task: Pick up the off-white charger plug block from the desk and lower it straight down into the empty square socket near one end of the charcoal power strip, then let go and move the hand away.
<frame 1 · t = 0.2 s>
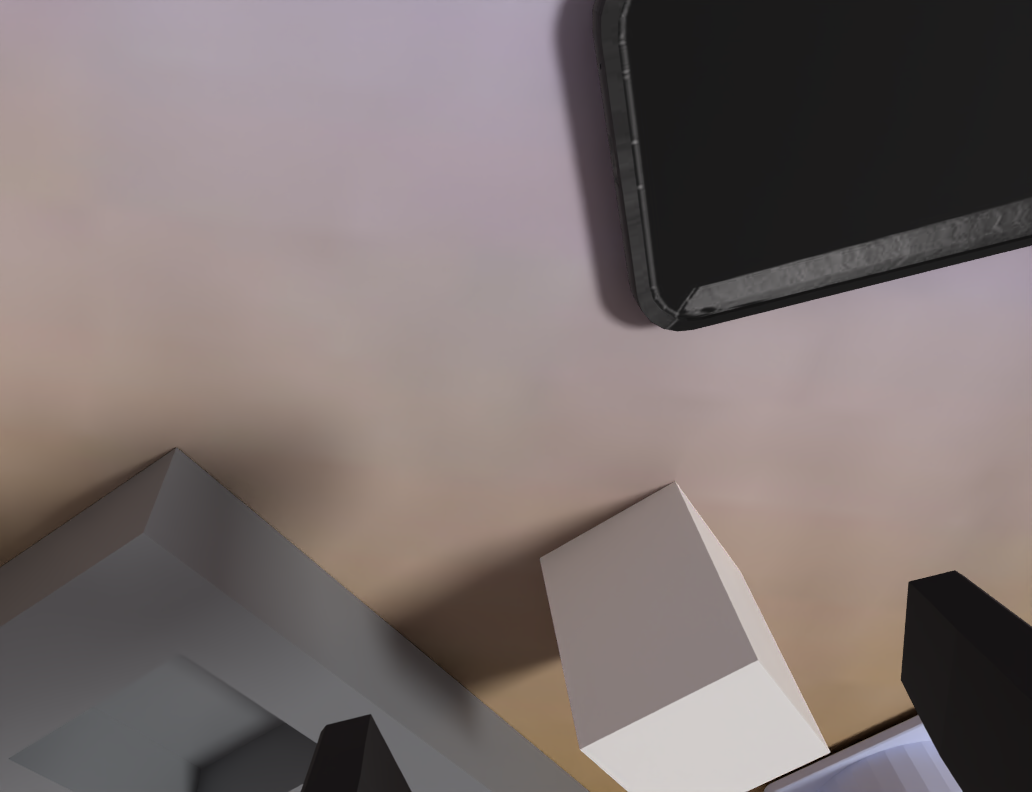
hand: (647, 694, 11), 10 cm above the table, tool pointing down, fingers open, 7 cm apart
power strip: (321, 742, 26), on the table
charger plug: (642, 564, 23), on the table
phone: (946, 72, 17), on the table
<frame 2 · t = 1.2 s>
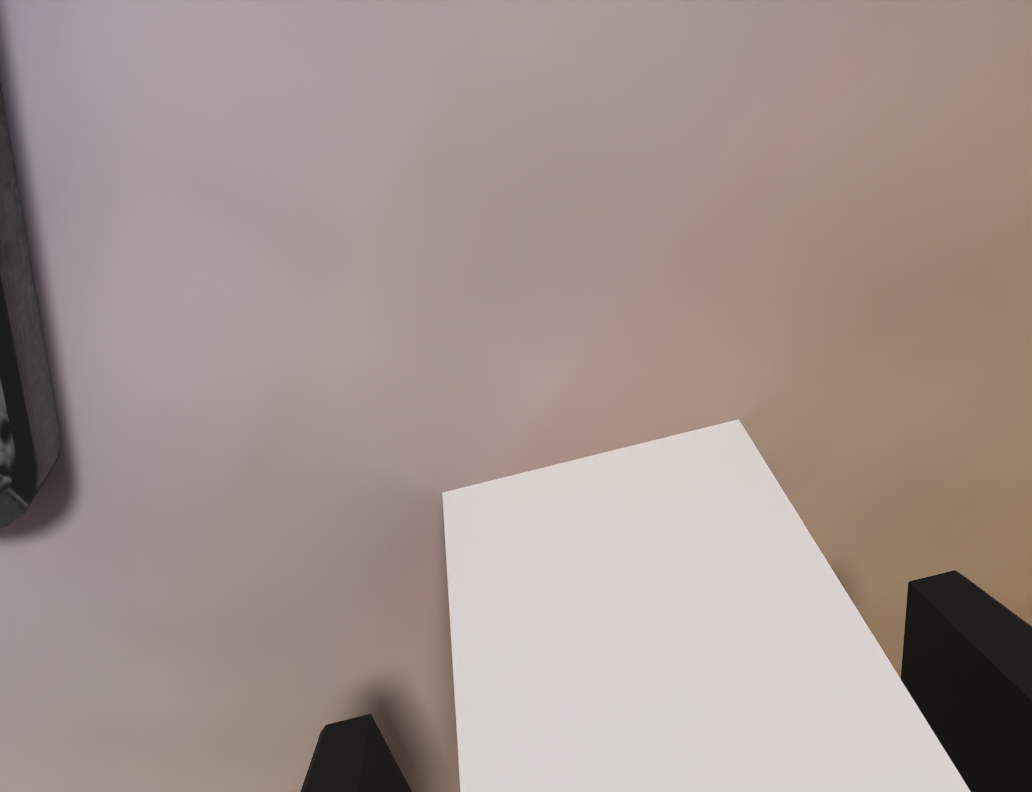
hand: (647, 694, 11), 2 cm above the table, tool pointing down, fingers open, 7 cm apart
charger plug: (612, 561, 13), on the table
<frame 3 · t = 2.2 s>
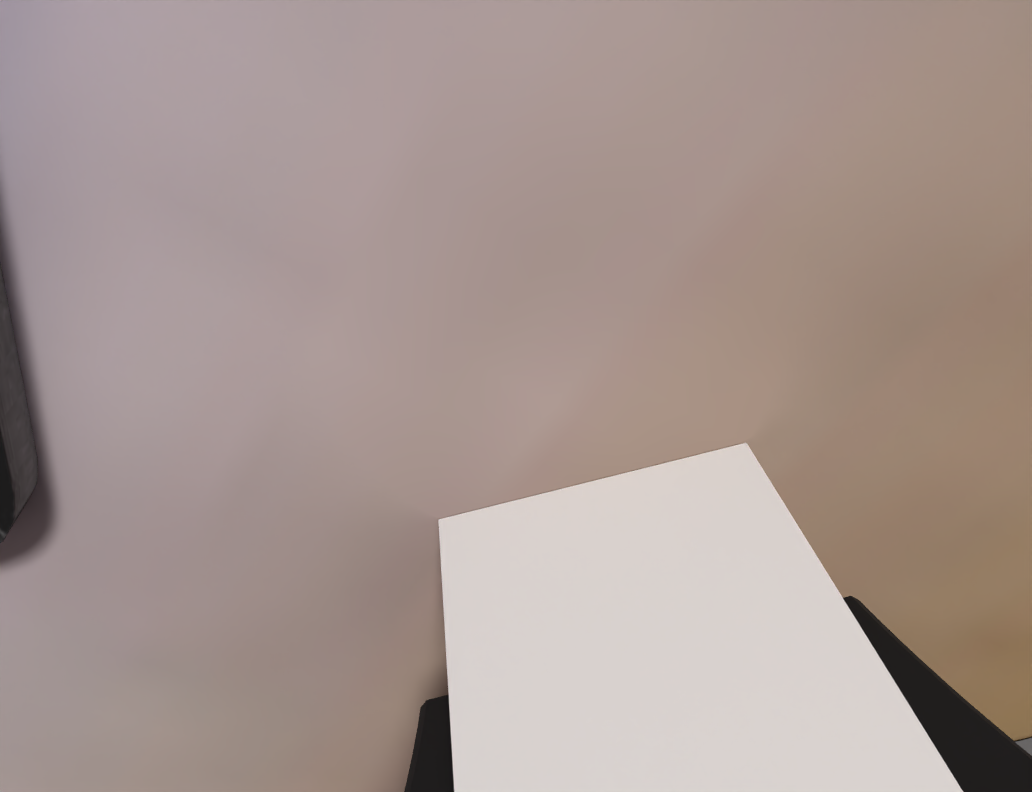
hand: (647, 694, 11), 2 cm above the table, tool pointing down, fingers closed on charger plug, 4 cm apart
charger plug: (615, 589, 12), on the table, touching gripper
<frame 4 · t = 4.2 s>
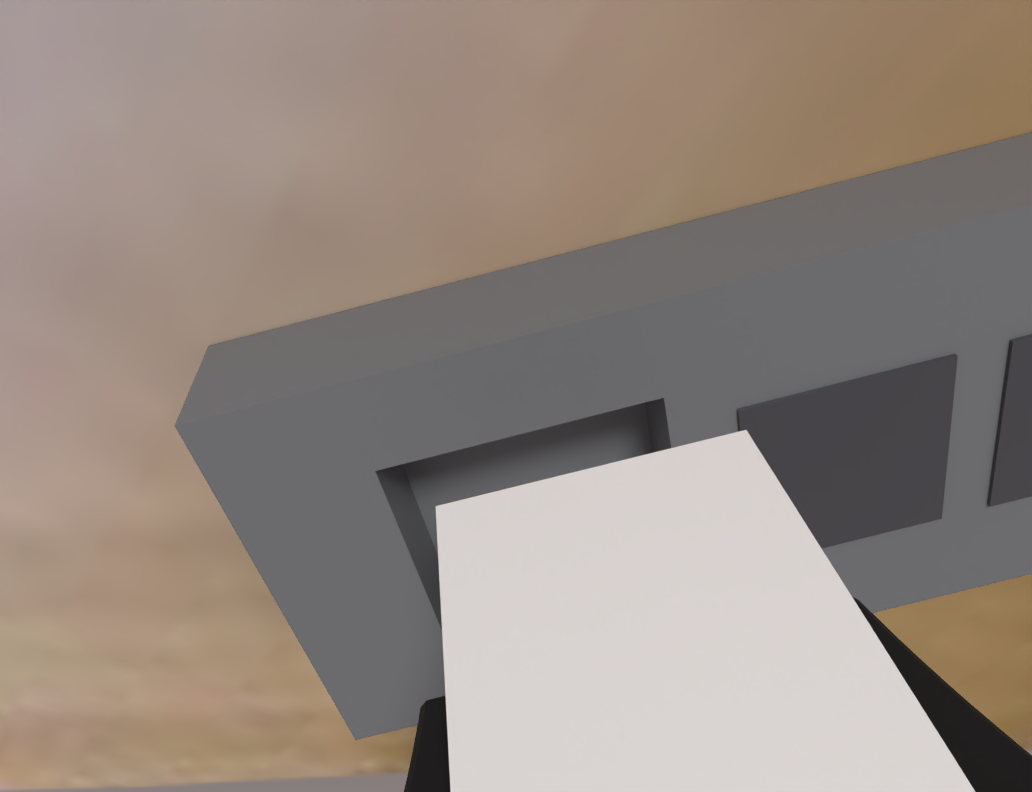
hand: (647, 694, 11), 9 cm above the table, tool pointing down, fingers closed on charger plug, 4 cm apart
power strip: (728, 406, 20), on the table
charger plug: (613, 578, 12), point 7 cm above the table, touching gripper
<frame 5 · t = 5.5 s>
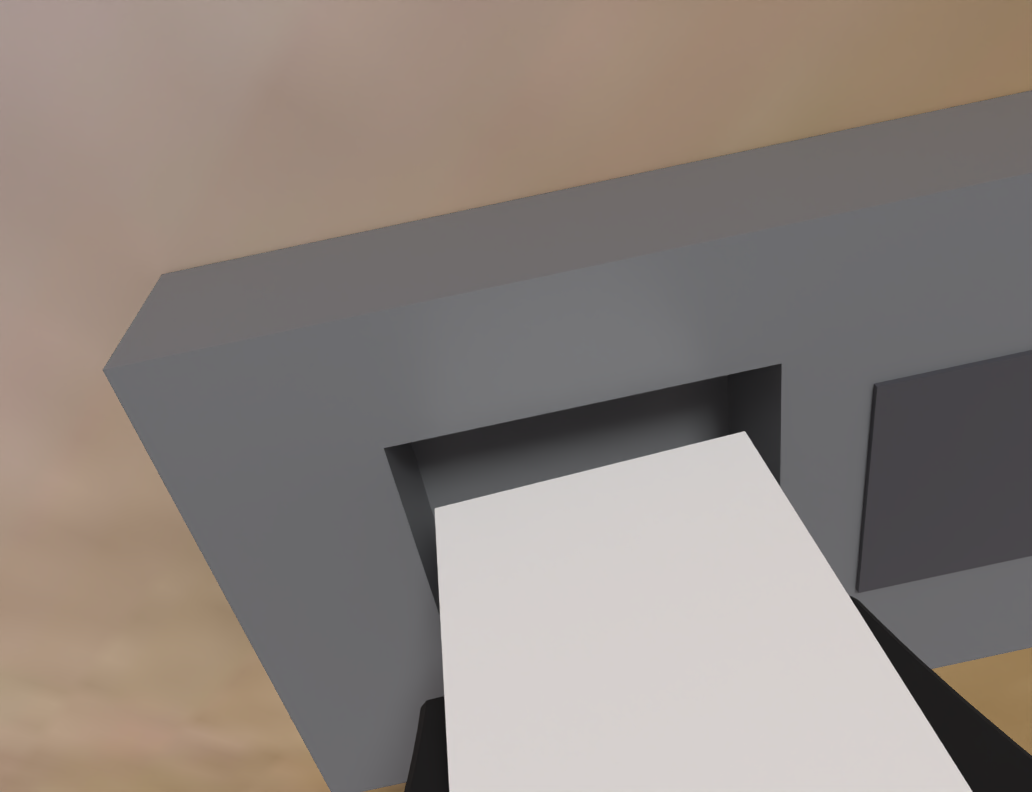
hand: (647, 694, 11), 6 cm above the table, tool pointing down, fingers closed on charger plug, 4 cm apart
power strip: (824, 389, 16), on the table
charger plug: (612, 579, 12), point 4 cm above the table, touching gripper
when the fingers open (4 cm above the table, at t = 6.4 s): charger plug drops 1 cm, resting on power strip.
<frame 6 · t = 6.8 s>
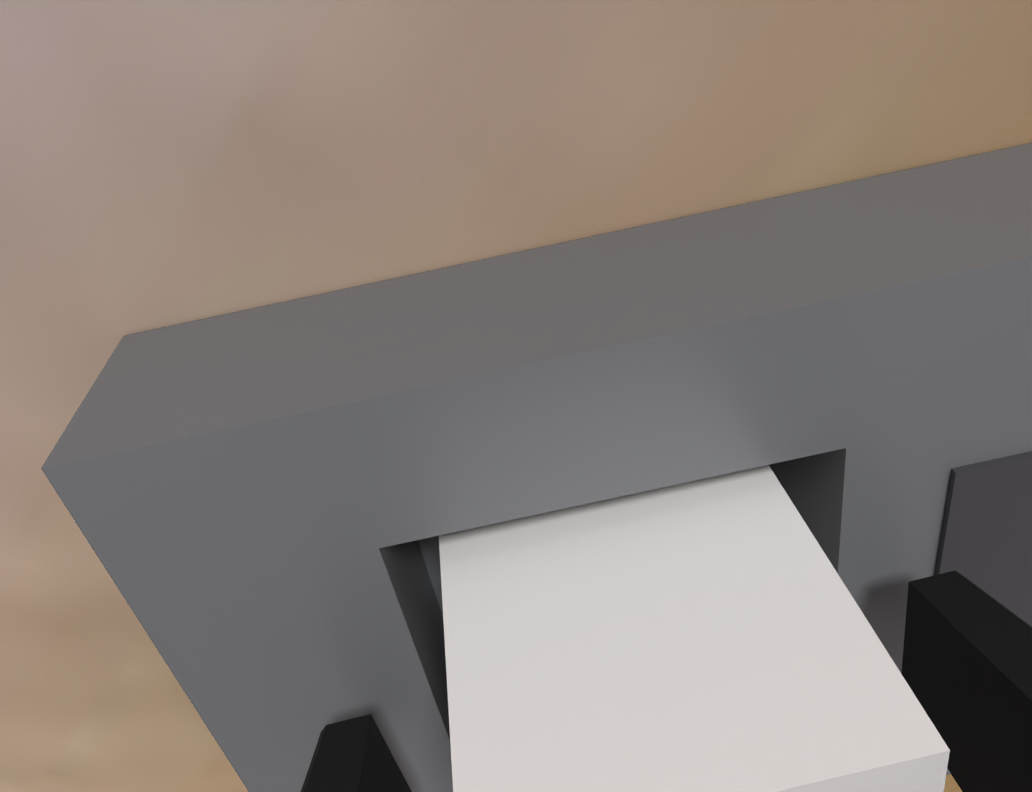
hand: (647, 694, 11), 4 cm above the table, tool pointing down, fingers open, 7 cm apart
power strip: (875, 452, 14), on the table
charger plug: (598, 528, 13), point 1 cm above the table, touching power strip
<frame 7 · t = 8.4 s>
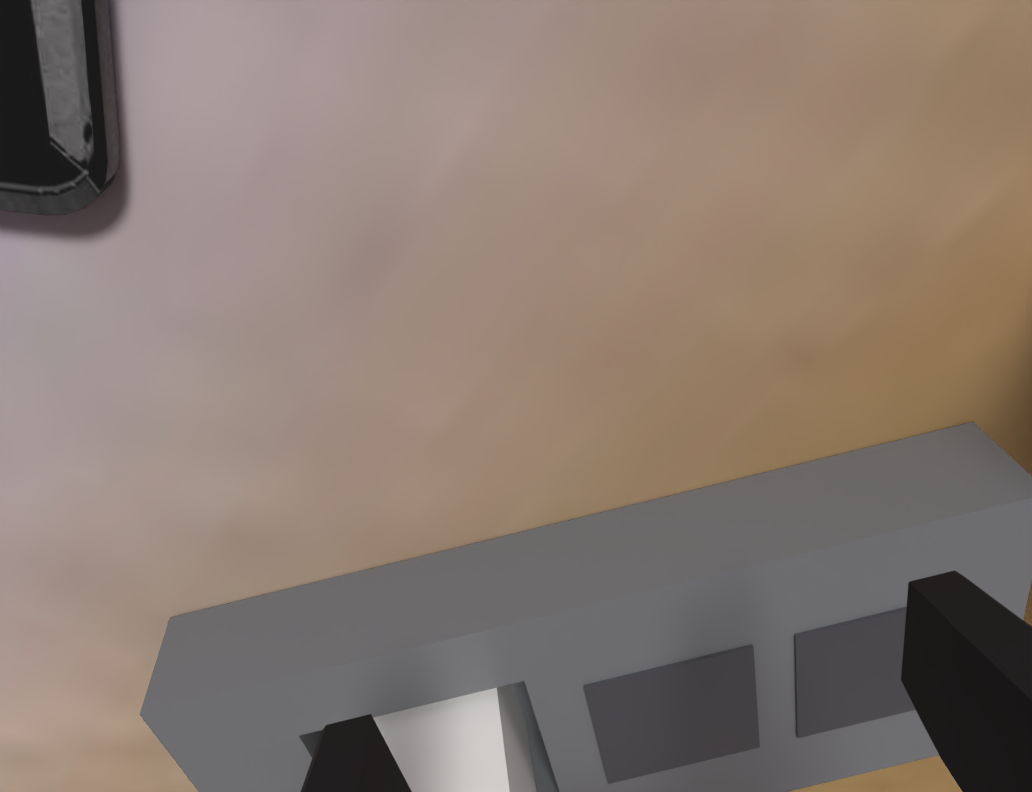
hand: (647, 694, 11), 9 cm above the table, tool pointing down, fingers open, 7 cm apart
power strip: (597, 641, 24), on the table
charger plug: (435, 693, 23), point 1 cm above the table, touching power strip
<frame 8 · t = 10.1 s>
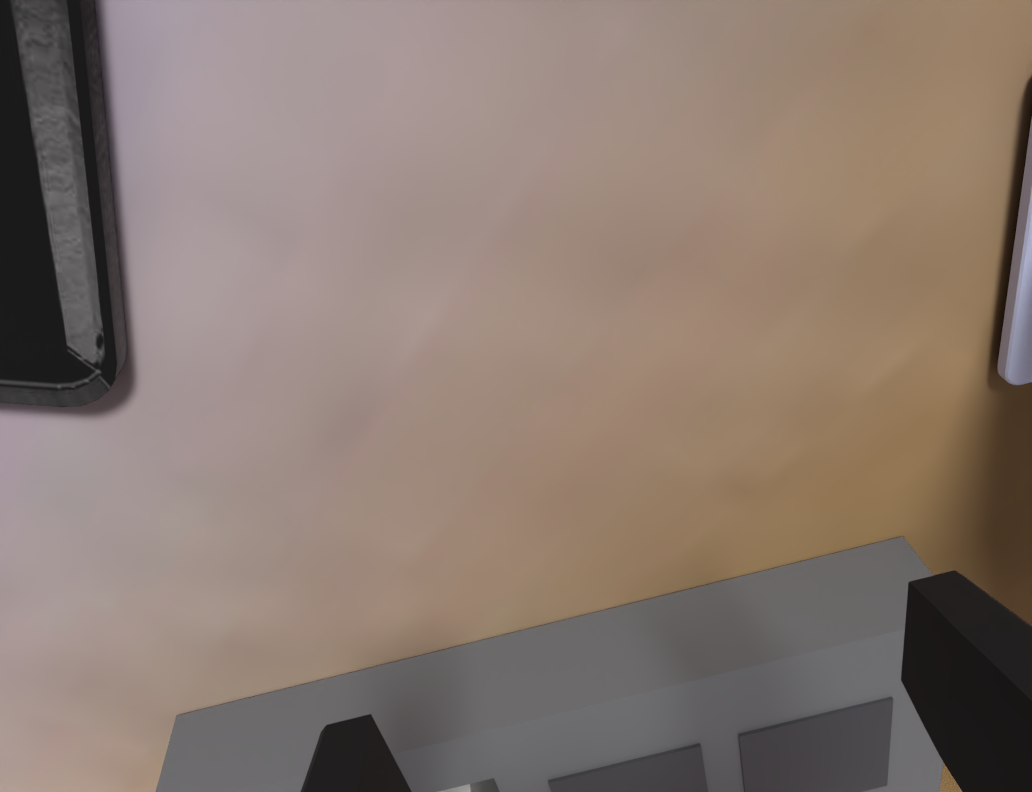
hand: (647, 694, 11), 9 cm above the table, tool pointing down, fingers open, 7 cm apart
power strip: (567, 726, 26), on the table
charger plug: (418, 776, 26), point 1 cm above the table, touching power strip
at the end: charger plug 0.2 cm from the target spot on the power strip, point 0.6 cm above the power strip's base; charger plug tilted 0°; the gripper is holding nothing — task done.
